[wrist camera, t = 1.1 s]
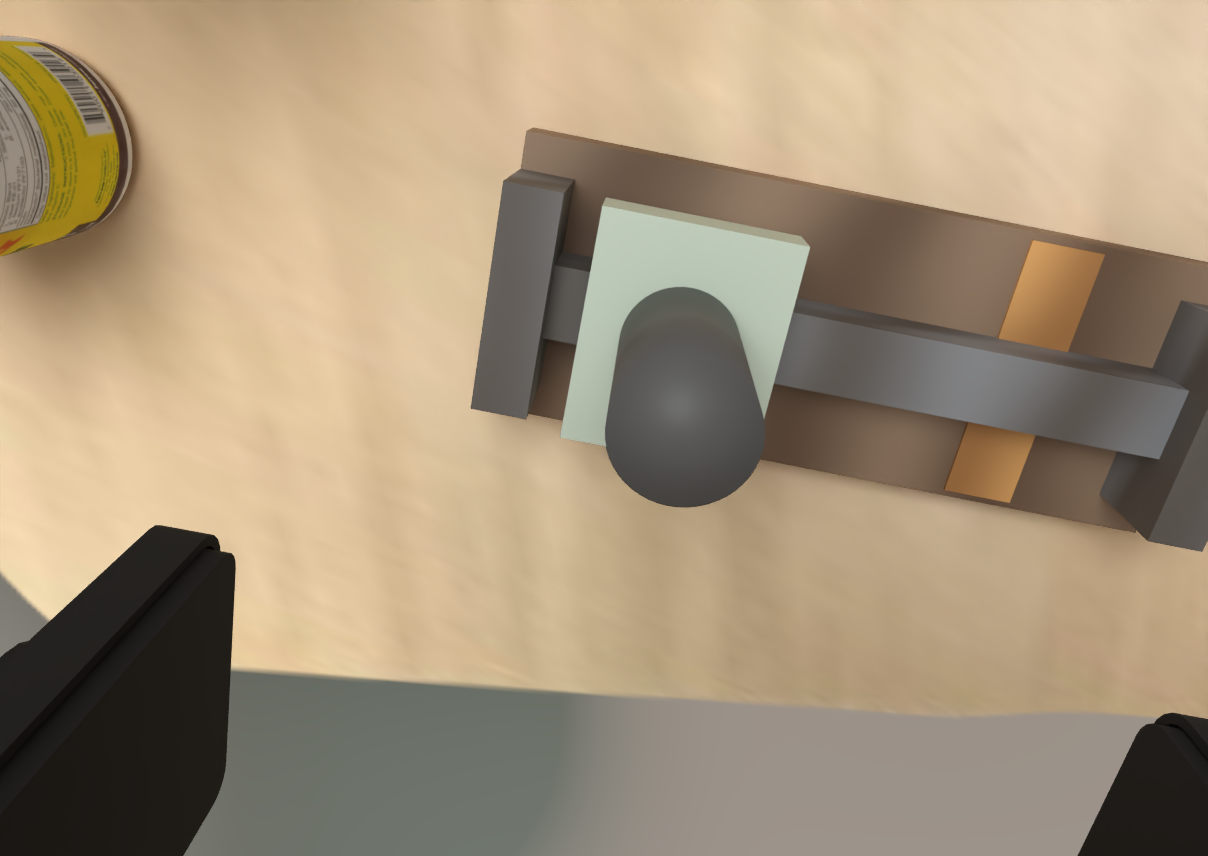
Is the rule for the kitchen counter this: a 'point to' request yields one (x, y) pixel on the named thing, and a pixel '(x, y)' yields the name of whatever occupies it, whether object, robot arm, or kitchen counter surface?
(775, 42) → the kitchen counter surface
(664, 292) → the carriage
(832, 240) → the rail base
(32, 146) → the supplement bottle
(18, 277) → the kitchen counter surface
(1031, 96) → the kitchen counter surface
